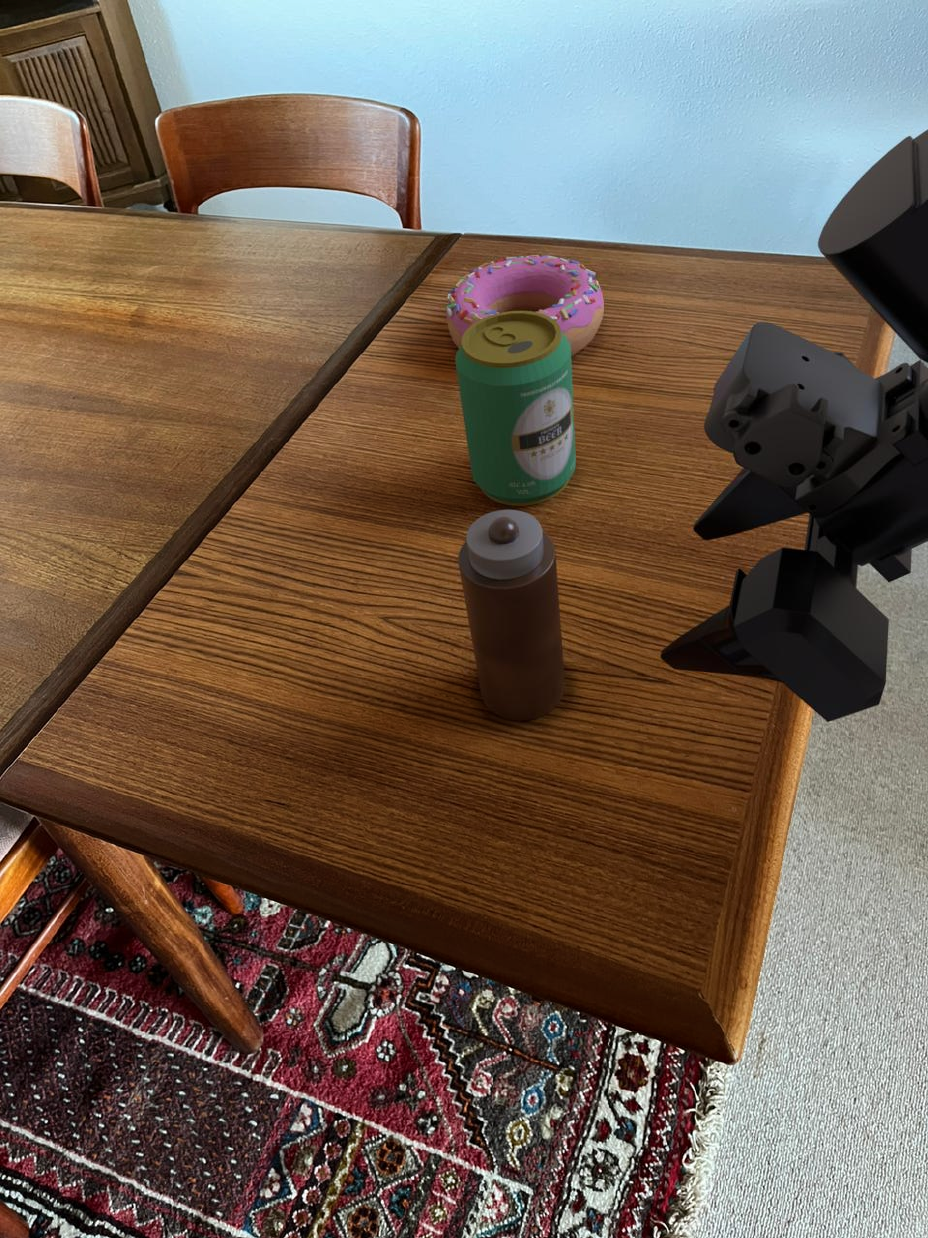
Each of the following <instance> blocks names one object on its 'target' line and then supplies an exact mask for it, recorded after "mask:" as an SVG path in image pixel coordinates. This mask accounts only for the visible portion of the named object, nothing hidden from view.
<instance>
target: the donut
mask: <svg viewBox="0 0 928 1238" xmlns="http://www.w3.org/2000/svg"><path fill="white" fill-rule="evenodd" d="M596 274H597V272H595V271H594V270H591V269H589V268H588V269H587V268H586V267H585V265H584V264H582V263H581V262H579V261H576V260H574V259H569V258H563V257H560V258H559V257H557V256H553V255H550V254H547V255H546V254H545V255H539V254H529V255H526V256H524V255H517V256H506V257H504V258H500V259H496V262H494V261H493V260H492V261H490V262H489V261H488V262H485V263H482V264H481V265H478V267H476V268H473V269H471V270H470V271H469V272H468V273H466V274H465V275H464V276H461V278H460V279H459V280H458V282H457V283H456V284H454V288H453V289H451V290H449V291H448V294H447V299H446V303H447V305H446V306H445V310H446V314H445V317H446V324H447V328H448V332H449V335H450V337H451V338H452V341H453V343H454V344H455V345H456V347H457V348H458V349H459V348H460V346H461V344H462V341H461V340H462V336H463V334H464V332H465V331H466V330H467V329H468V328H469V327H470V326H471V325H472V324H474V323H475V322H477V321H479V320H481V319H483V318H485V317H488V316H490V315H494V314H497V313H502V312H508V311H531V312H537V313H541V314H544V315H547V316H549V317H551V318H552V319H554V320H555V321H556V322H557V323H558V324H559V326H560V328H561V332H562V333H563V334H564V336H565V337H566V338H567V340H568V341H569V343H570V347H571V357H573V356H574V355H576V354H578V353H579V352H581V351H582V350H583V349H584V348H586V346H587V345H589V344H590V342H591V341H592V340H593V339H594V337H595V336H596V334H597V333H598V331H599V329H600V326H601V323H602V322H603V317H604V314H605V312H604V311H605V301H604V295H603V291H602V288H601V286H600V284H599V281H598V280H597V279H595V277H596Z"/></svg>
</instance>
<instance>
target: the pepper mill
mask: <svg viewBox="0 0 928 1238" xmlns="http://www.w3.org/2000/svg"><path fill="white" fill-rule="evenodd" d="M461 545H462V546H461V547H460V549H459V553H458V557H457V562H458V563H457V564H458V568H459V569H458V570H459V574H460V581H461V587H462V592H463V597H464V603H465V608H466V609H465V610H466V614H467V621H468V626H469V627H468V628H469V631H470V638H471V644H472V649H473V654H474V655H473V656H474V661H475V667H476V672H477V673H476V674H477V678H478V685H479V688H480V690H479V691H480V696H481V698H482V702H483V703H484V704H485V706H486V707H487V708H488V710H490V711H491V712H492V713H493V714H495V715H496V716H498V717H501V718H503V719H506V720H511V721H515V722H516V721H517V722H519V721H521V722H522V721H525V722H526V721H531V720H535V719H538V718H541V717H544V716H546V715H547V714H549V713H550V712H552V711H553V710H554V709H555V708H556V707H557V706H558V705H559V704H560V703H561V701H562V698H563V697H564V695H565V690H566V681H565V666H564V655H563V653H564V652H563V637H562V636H563V635H562V624H561V623H562V622H561V610H560V597H559V596H560V595H559V594H560V593H559V583H558V582H559V579H558V567H557V552H556V547H555V544H554V541H553V540H552V538H550V536H549V535H548V534H547V533H546V532H545V531H543V528H542V525H541V523H540V522H539V521H538V519H537V518H535V517H534V516H533V515H531V514H529V513H527V512H525V511H521V510H517V509H500V510H493V511H491V512H489V513H486V514H484V515H481V516H480V517H478V518H477V519H476V520H475V521H474V522H472V523H471V525H470V526H469V528H468V529H467V532H466V535H465V541H464V542H463V544H461Z"/></svg>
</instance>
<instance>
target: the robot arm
mask: <svg viewBox="0 0 928 1238" xmlns="http://www.w3.org/2000/svg"><path fill="white" fill-rule="evenodd" d="M830 213H831V214H830V215H829V217H828V218H827V220H826V221H825V223H824V225H823V226H822V229H821V232H820V234H819V237H818V241H817V248H818V250H819V252H820V253H821V255H822V256H824V258H825V259H826V260H827V261H828V262H829V263H830V264H831V265H832V266H833V267H834V268H835V269H836V271H837V272H838V273H839V274H840V275H841V276H842V277H843V278H844V279H845V280H846V281H847V283H848V284H850V286H851V287H852V288H853V289H854V290H855V291H856V292H857V293H858V294H859V295H860V296H861V297H862V298H863V300H864V301H865V302H866V303H867V304H868V305H869V306H870V307H871V308H872V309H873V310H874V312H875V313H876V314H877V315H878V316H879V317H880V318H881V319H882V320H883V321H884V322H885V323H886V324H887V326H888V327H890V329H891V330H893V332H894V333H895V335H897V337H899V339H901V340H902V341H903V343H905V345H906V346H907V347H908V348H909V349H910V350H911V351H912V353H914V354H915V355H916V357H917V358H918V359H919V360H917V361H916V362H914V363H913V364H911V365H910V364H909V363H908V362H902V363H901V364H899V365H897V366H896V367H894V368H892V369H891V370H889V371H888V372H886V373H884V374H882V375H880V376H877V377H875V378H874V377H873V376H871V375H869V374H868V373H866V372H864V371H862V370H861V369H859V368H857V366H856V365H855V364H854V363H853V362H852V361H851V360H850V359H849V358H848V357H847V356H846V355H845V354H844V352H837V351H835V352H834V351H832V350H829V349H826V348H824V347H822V346H821V345H818V344H816V343H814V342H812V341H810V340H808V339H806V338H804V337H802V336H800V335H797V334H796V333H794V332H791V331H789V330H787V329H785V328H783V327H781V326H779V325H777V324H775V323H771V322H769V321H768V322H767V321H759V322H756V323H754V324H753V325H752V327H751V328H750V329H749V331H748V333H747V334H746V336H745V337H744V339H743V341H742V342H741V343H740V346H738V348H737V349H736V351H735V353H734V354H733V355H732V357H731V359H730V360H729V362H728V364H727V365H726V366H725V367H724V369H723V371H722V373H721V374H720V376H719V377H718V379H717V381H716V382H715V383H714V386H713V395H712V399H711V402H710V406H709V410H708V412H707V414H706V416H705V419H704V423H703V430H704V433H705V435H706V436H707V438H708V439H709V440H710V442H711V443H713V444H714V445H715V446H717V447H718V448H720V449H722V450H723V451H725V452H727V453H731V454H732V455H733V459H734V461H735V463H736V465H738V466H739V467H741V468H742V469H741V470H740V471H739V472H738V473H737V474H736V476H735V477H734V478H733V479H732V480H731V482H730V483H729V484H728V485H727V486H726V487H725V488H724V490H722V491H721V493H720V494H718V496H717V497H716V498H715V499H714V501H712V503H711V504H710V505H709V506H708V507H707V508H706V509H705V511H704V512H703V513H702V514H701V515H700V516H699V517H698V519H696V521H695V522H694V524H693V532H695V534H696V535H698V536H699V537H700V538H701V539H702V540H704V541H712V540H716V539H721V538H726V537H730V536H735V535H738V534H742V533H745V532H748V531H751V530H755V529H758V528H762V527H765V526H768V525H772V524H775V523H778V522H782V521H785V520H789V519H792V518H795V517H798V516H803V515H805V514H809V515H808V522H807V528H806V535H805V543H804V549H798V548H790V547H781V548H778V549H776V550H774V551H773V552H771V553H769V554H767V555H764V556H763V557H762V558H760V559H759V560H758V561H757V562H756V564H754V566H752V569H750V570H749V572H748V573H745V571H743V569H741V568H738V569H737V570H736V572H735V575H734V580H733V585H732V590H731V596H730V600H729V604H728V605H727V606H726V607H724V608H722V609H721V610H719V611H717V612H715V613H714V614H713V615H711V616H710V617H708V618H707V619H705V620H704V621H702V622H700V623H699V624H697V625H696V626H694V627H692V628H691V629H689V630H688V631H686V632H684V633H683V634H681V635H680V636H679V637H677V638H675V639H674V640H673V641H672V642H671V643H669V644H668V645H667V646H665V647H664V648H663V649H662V650H661V652H660V659H661V660H662V661H663V662H664V663H665V664H667V665H668V666H669V667H670V668H671V669H674V670H677V671H688V672H697V673H708V674H717V675H718V674H719V675H720V674H721V675H730V676H738V677H739V676H741V677H747V678H749V677H750V678H758V679H763V680H767V681H772V682H777V683H782V684H783V685H785V686H786V687H787V688H788V689H789V690H790V691H791V692H792V693H793V694H795V695H796V696H797V697H798V698H799V699H801V700H802V702H804V703H805V704H806V705H807V706H808V707H810V708H811V709H812V710H813V712H815V713H816V714H818V716H820V718H822V719H823V720H825V721H826V722H827V723H830V722H833V721H836V720H839V719H842V718H845V717H848V716H852V715H853V714H857V713H859V712H862V711H865V710H868V709H872V708H874V707H877V706H879V705H880V703H881V700H882V697H883V694H884V690H885V687H886V683H887V667H888V647H889V646H888V645H889V644H888V643H889V629H890V628H889V626H890V624H889V623H890V619H889V618H888V617H887V616H886V615H885V614H884V612H882V611H881V610H880V609H879V608H878V607H877V606H876V605H875V604H873V602H871V601H870V600H869V599H868V598H867V597H866V596H865V595H864V594H863V593H862V592H861V591H860V590H859V589H858V588H857V587H858V576H859V566H860V567H864V566H866V565H868V564H869V565H870V566H871V567H872V568H873V569H874V570H875V571H877V573H878V574H879V575H881V577H882V578H884V580H886V581H887V582H888V583H891V582H893V581H896V580H898V579H900V578H903V577H904V576H907V575H910V574H911V573H912V553H913V549H915V548H918V547H919V546H921V545H924V544H925V543H927V542H928V366H927V365H925V363H927V364H928V129H926V130H925V131H923V132H922V133H920V134H918V135H917V136H916V137H914V138H913V137H912V136H911V135H908V136H905V138H903V139H902V140H900V142H898V143H896V145H894V146H893V147H892V148H891V149H889V150H888V151H887V152H886V153H885V154H884V155H882V157H881V158H879V160H877V161H876V162H875V163H874V164H873V165H871V166H870V168H869V169H868V170H867V171H866V172H864V174H862V176H861V177H860V178H859V179H858V180H856V182H855V183H854V184H853V185H852V186H851V188H849V190H848V191H847V193H845V195H844V196H843V197H842V198H841V200H840V201H839V202H838V204H836V206H835V208H834V209H833V211H832V212H830ZM924 362H925V363H924Z"/></svg>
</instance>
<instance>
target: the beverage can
mask: <svg viewBox="0 0 928 1238" xmlns="http://www.w3.org/2000/svg"><path fill="white" fill-rule="evenodd" d="M461 341H462V344H461V346H460V348H458V350H457V352H456V354H455V358H454V360H455V361H454V362H455V368H456V376H457V380H458V381H457V382H458V389H459V397H460V403H461V410H462V416H463V417H462V418H463V423H464V431H465V437H466V445H467V451H468V458H469V463H470V464H469V465H470V473H471V476H472V479H473V481H474V482H475V484H476V485H477V486H478V487H479V488H480V490H481V491H482V492H483V494H484V495H485V496H486V497H487V498H489V499H490V500H492V501H494V502H496V503H499V504H502V505H507V506H515V507H526V506H527V507H528V506H533V505H537V504H541V503H544V502H547V501H549V500H551V499H554V498H555V497H556V496H558V495H559V494H560V493H561V492H563V491H564V490H565V488H566V487H567V485H568V484H569V482H570V479H571V477H572V476H573V474H574V473H575V469H576V467H577V456H576V455H577V454H576V432H575V412H574V411H575V410H574V389H573V367H572V365H573V363H572V356H571V347H570V343H569V341H568V340H567V338H566V337H565V336H564V334H563V333H562V332H561V328H560V326H559V324H558V323H557V322H556V321H555V320H554V319H552V318H551V317H549V316H547V315H544V314H541V313H537V311H534V312H531V311H508V312H502V313H497V314H494V315H490V316H488V317H485V318H483V319H481V320H479V321H477V322H475V323H474V324H472V325H471V326H470V327H469V328H468V329H467V330H466V331H465V332H464V334H463V336H462V340H461Z"/></svg>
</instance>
